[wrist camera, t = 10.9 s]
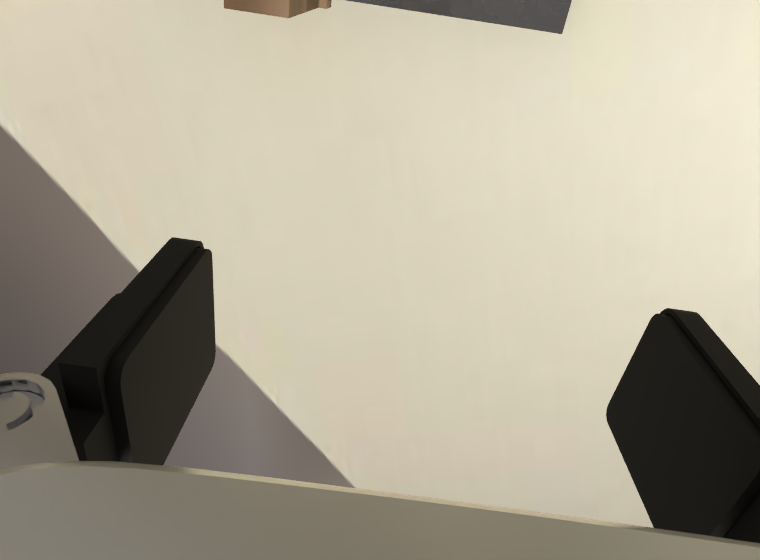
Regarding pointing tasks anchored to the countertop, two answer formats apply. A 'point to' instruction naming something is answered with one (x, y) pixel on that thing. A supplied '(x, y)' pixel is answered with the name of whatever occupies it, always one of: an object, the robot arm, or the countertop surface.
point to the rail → (492, 11)
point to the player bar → (277, 6)
